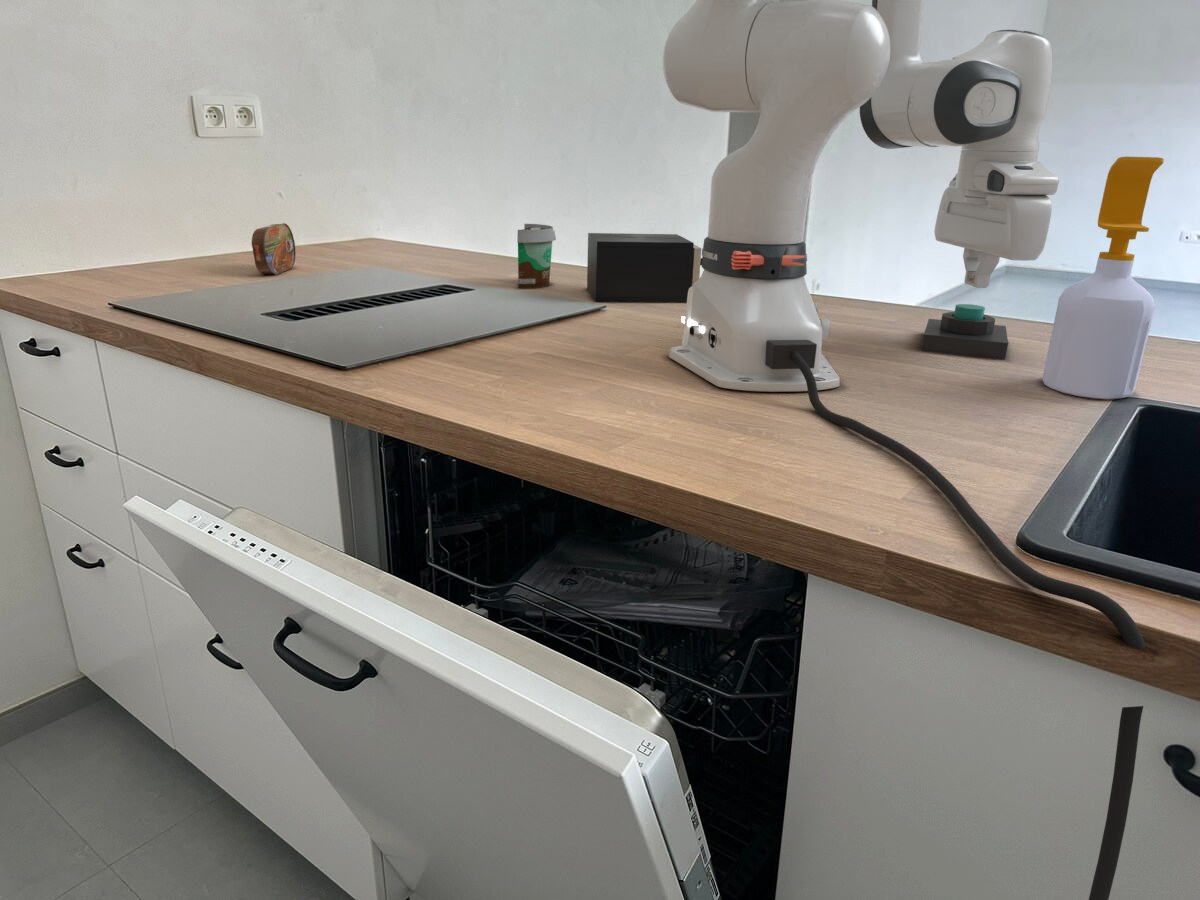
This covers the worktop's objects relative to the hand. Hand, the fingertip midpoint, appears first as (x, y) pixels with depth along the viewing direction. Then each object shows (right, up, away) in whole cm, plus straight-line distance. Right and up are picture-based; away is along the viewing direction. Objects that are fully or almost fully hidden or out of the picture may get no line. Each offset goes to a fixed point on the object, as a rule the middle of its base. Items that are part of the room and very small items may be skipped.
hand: (975, 286), depth 112 cm
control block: (0, -8, +3) cm, 8 cm away
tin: (-109, +12, +47) cm, 120 cm away
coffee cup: (-60, +8, +41) cm, 74 cm away
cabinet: (-43, +5, +33) cm, 55 cm away
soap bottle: (+5, -15, -16) cm, 23 cm away
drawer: (-39, +6, +33) cm, 52 cm away
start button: (0, -4, +1) cm, 4 cm away
